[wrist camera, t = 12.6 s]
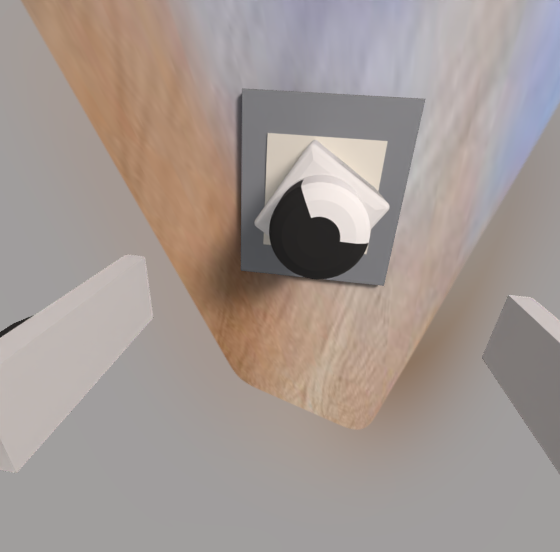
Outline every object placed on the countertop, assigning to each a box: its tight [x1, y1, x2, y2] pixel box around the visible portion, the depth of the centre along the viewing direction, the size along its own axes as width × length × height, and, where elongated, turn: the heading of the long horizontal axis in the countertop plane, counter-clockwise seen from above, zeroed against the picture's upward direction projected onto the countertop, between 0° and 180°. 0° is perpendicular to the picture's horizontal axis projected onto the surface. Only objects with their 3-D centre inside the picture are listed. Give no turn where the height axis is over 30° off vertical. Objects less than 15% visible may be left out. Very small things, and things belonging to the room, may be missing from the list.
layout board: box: [241, 89, 425, 286], centre depth 32 cm, size 18×16×1 cm
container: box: [254, 140, 389, 279], centre depth 26 cm, size 8×8×13 cm
